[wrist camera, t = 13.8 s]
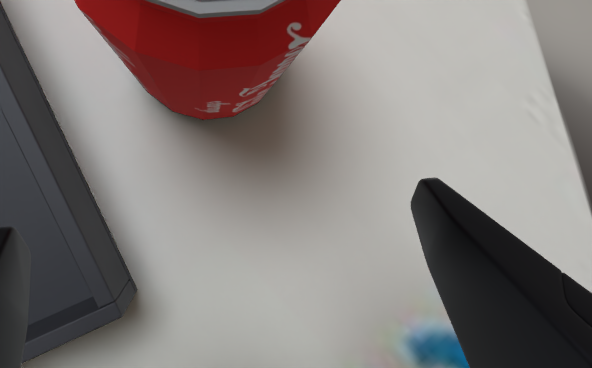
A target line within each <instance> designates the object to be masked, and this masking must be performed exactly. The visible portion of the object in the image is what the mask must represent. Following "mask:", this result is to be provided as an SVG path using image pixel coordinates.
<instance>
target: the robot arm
mask: <svg viewBox="0 0 592 368" xmlns="http://www.w3.org/2000/svg"><path fill="white" fill-rule="evenodd" d="M411 210H412V214H413V218H414V221H415V225H416V228H417V232H418V235H419V239H420V242H421V246H422V249H423V253H424V256H425V259H426V262H427V265H428V268H429V270H430V273H431V275H432V278H433V280H434V282H435V285H436V287H437V290H438V292H439V295H440V297H441V299H442V302H443V304H444V307H445V309H446V311H447V314H448V316H449V319H450V321H451V323H452V326H453V328H454V331H455V333H456V336H457V338H458V340H459V343H460V345H461V348H462V350H463V352H464V355H465V357H466V360H467V362H468V364H469V367H470V368H592V293H591V292H589V291H588V290H587V289H585V288H584V287H582V286H581V285H580V284H578V283H577V282H576V281H574V280H573V279H572V278H570V277H569V276H568V275H566V274H565V273H561V270H560V269H558V268H557V267H556V266H554V265H553V264H552V263H550V262H549V261H548V260H546V259H545V258H544V257H542V256H541V255H540V254H538V253H537V252H536V251H534V250H533V249H532V248H530V247H529V246H528V245H526V244H525V243H524V242H522V241H521V240H520V239H518V238H517V237H516V236H514V235H513V234H512V233H510V232H509V231H508V230H506V229H505V228H504V227H502V226H501V225H500V224H498V223H497V222H496V221H494V220H493V219H492V218H490V217H489V216H488V215H486V214H485V213H484V212H482V211H481V210H480V209H478V208H477V207H476V206H474V205H473V204H472V203H470V202H469V201H468V200H466V199H465V198H464V197H462V196H461V195H460V194H458V193H457V192H456V191H454V190H453V189H452V188H450V187H449V186H448V185H446V184H445V183H444V182H442V181H441V180H440V179H438V178H426V179H421V180H420V181H419V182H418V185H417V187H416V190H415V192H414V195H413V197H412V200H411ZM30 270H31V254H30V250H29V248H28V246H27V245H26V243H25V241H24V240H23V238H22V237H21V235H20V234H19V232H18V231H17V229H16V228H14V227H12V226H8V227H0V368H21V362H22V356H23V351H24V345H25V340H26V333H27V326H28V313H29V292H30Z"/></svg>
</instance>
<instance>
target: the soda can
mask: <svg viewBox="0 0 592 368" xmlns="http://www.w3.org/2000/svg"><path fill="white" fill-rule="evenodd" d="M74 1H75V3H76V5H77V6H78V8H79V9H80V10H81V12H82V13H83V14H84V15H85V16H86V18H87V19H88V20H89V21H90V23H91V24H92V25H93V26H94V27H95V29H96V30H97V31H98V32H99V33H100V35H101V36H102V37H103V38H104V40H105V41H106V42H107V43H108V44H109V46H110V47H111V48H112V49H113V51H114V52H115V53H116V54H117V55H118V57H119V58H120V59H121V60H122V61H123V63H124V64H125V65H126V66H127V68H128V69H129V70H130V71H131V72H132V74H133V75H134V76H135V77H136V79H137V80H138V81H139V82H140V83H141V85H142V86H143V87H144V88H145V89H146V91H147V92H148V93H150V94H151V95H152V96H154V97H155V98H156V99H157V100H159V101H160V102H161V103H163V104H164V105H165V106H167V107H168V108H169V109H171V110H172V111H174V112H177V113H181V114H184V115H188V116H191V117H195V118H198V119H202V120H206V119H215V118H224V117H233V116H235V115H237V114H238V113H240V112H242V111H244V110H246V109H247V108H249V107H251V106H253V105H255V104H256V103H258V102H259V101H260V100H261V99H262V98H263V96H264V95H265V94H266V93H267V92H268V90H269V89H270V88H271V87H272V85H273V84H274V83H275V82H276V81H277V79H278V78H279V77H280V76H281V75H282V73H283V72H284V71H285V70H286V68H287V67H288V66H289V65H290V64H291V62H292V61H293V60H294V59H295V58H296V56H297V55H298V54H299V53H300V51H301V50H302V49H303V48H304V47H305V45H306V44H307V43H308V42H309V41H310V39H311V38H312V37H313V36H314V34H315V33H316V32H317V30H318V29H319V28H320V27H321V25H322V24H323V23H324V21H325V20H326V19H327V17H328V16H329V15H330V14H331V12H332V11H333V10H334V8H335V7H336V6H337V4H338V3H339V2H340V1H341V0H74Z"/></svg>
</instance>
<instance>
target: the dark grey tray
mask: <svg viewBox="0 0 592 368" xmlns="http://www.w3.org/2000/svg"><path fill="white" fill-rule="evenodd" d="M8 226H12V227H14V228H16V229H17V231H18V232H19V234H20V235H21V237H22V238H23V240H24V241H25V243H26V245H27V246H28V248H29V250H30V254H31V270H30V292H29V313H28V326H27V333H26V340H25V345H24V351H23V356H22V362H21V363H24V362H26V361H28V360H30V359H32V358H34V357H37V356H39V355H41V354H43V353H45V352H47V351H50V350H52V349H54V348H56V347H58V346H60V345H63V344H65V343H67V342H69V341H71V340H73V339H76V338H78V337H80V336H82V335H84V334H86V333H89V332H91V331H93V330H95V329H97V328H99V327H102V326H104V325H106V324H108V323H110V322H112V321H115V320H117V319H119V318H121V317H122V316H123V314H124V312H125V311H126V309H127V307H128V305H129V303H130V302H131V300H132V298H133V296H134V294H135V293H136V291H137V288H136V286H135V284H134V282H133V280H132V278H131V275H130V273H129V271H128V269H127V267H126V265H125V263H124V261H123V259H122V257H121V254H120V252H119V250H118V248H117V246H116V244H115V242H114V240H113V238H112V236H111V234H110V231H109V229H108V227H107V225H106V223H105V221H104V219H103V217H102V215H101V213H100V210H99V208H98V206H97V204H96V202H95V200H94V198H93V196H92V194H91V192H90V189H89V187H88V185H87V183H86V181H85V179H84V177H83V175H82V173H81V171H80V168H79V166H78V164H77V162H76V160H75V158H74V156H73V154H72V152H71V150H70V148H69V145H68V143H67V141H66V139H65V137H64V135H63V133H62V131H61V129H60V127H59V124H58V122H57V120H56V118H55V116H54V114H53V112H52V110H51V108H50V106H49V103H48V101H47V99H46V97H45V95H44V93H43V91H42V89H41V87H40V85H39V82H38V80H37V78H36V76H35V74H34V72H33V70H32V68H31V66H30V64H29V62H28V59H27V57H26V55H25V53H24V51H23V49H22V47H21V45H20V43H19V41H18V38H17V36H16V34H15V32H14V30H13V28H12V26H11V24H10V22H9V20H8V17H7V15H6V13H5V11H4V9H3V7H2V5H1V3H0V227H8Z"/></svg>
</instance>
